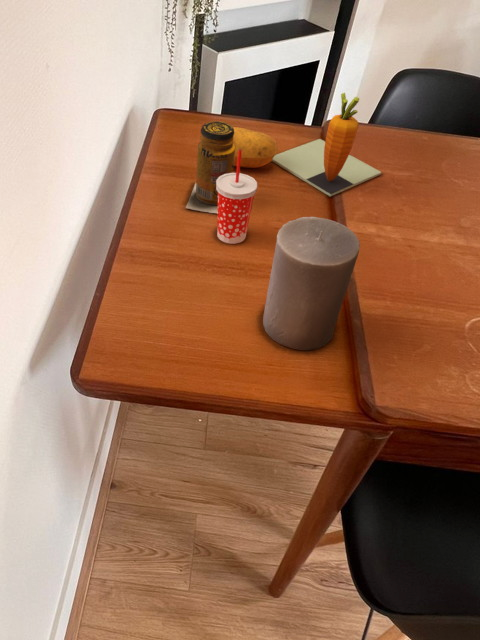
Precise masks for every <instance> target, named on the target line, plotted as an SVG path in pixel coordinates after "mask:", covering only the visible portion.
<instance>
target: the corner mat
mask: <svg viewBox="0 0 480 640" xmlns="http://www.w3.org/2000/svg"><path fill="white" fill-rule="evenodd" d="M325 141H326V140H323V139H322V138H318V139H315V140H312V141H310V142H306V143H304V144H302V145H298V146H296V147H292V148H290V149H287V150H285V151H282V152H280V153H276V154H275V156H274V157H273V159H272V161H271V162H272V163H274V164H275V165H277V166H279V167H280V168H282V169H284V170H286V171H287V172H288V173H290V174H292V175H293V176H295V177H297V178H299V180H301V181H303V182H305V183H307V184H308V185H310V186H311V187H313V188H315V189H316V190H318V191H320V192H321V193H322V194H324V195H326V196H328V197H333V196H335V195H338V194H340V193H342V192H344V191H346V190H349V189H351V188H353V187H355V186H357V185H360V184H362V183H364V182H367V181H369V180H372V179H373V178H376V177H378V176H381V175H382V171H380V170H378V169H376V168H375V167H373V166H371V165H370V164H367V163H366V162H364V161H362V160H360V159H358V158H357V157H354V156H353V155H350V154H349V156H348V158H347V160H346V162H345V164H344V166H343V168H342V169H341V171H340V172H339V174H338V175H337V176H336V178H335V179H334V180H333V181H331V182H329V181H328V180H327V177H326V174H325V169H324V147H325Z"/></svg>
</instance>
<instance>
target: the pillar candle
mask: <svg viewBox="0 0 480 640" xmlns="http://www.w3.org/2000/svg"><path fill="white" fill-rule="evenodd" d="M360 246H361V243H360V239H359V238H358V236H357V235H356V233H355V232H354V231H353V230H352V229H350V228H349V227H347V226H346V225H344V224H342V223H340V222H337V221H335V220H331V219H328V218H324V217H316V216H303V217H297V218H296V219H294V220H289V221H288V222H286V223H284V224H283V225H282V226H281V227H280V228H279V229H278V232H277V235H276V242H275V247H274V254H273V257H272V265H271V270H270V276H269V281H268V286H267V292H266V300H265V305H264V312H263V316H262V324H263V325H262V326H263V328H264V330H265V332H266V334H267V335H268V336H269V338H271V339H272V340H273V341H274V342H275V343H277V344H279V345H281V346H283V347H286V348H290V349H294V350H298V351H312V350H317V349H320V348H322V347H323V346H325V345H326V344H328V343H329V342H330V341H331V340H332V338H333V337H334V331H335V328H336V324H337V323H338V320H339V316H340V312H341V309H342V305H343V302H344V300H345V297H346V294H347V291H348V287H349V285H350V281H351V278H352V275H353V272H354V269H355V267H356V263H357V259H358V256H359V253H360V248H361V247H360Z"/></svg>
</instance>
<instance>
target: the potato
mask: <svg viewBox="0 0 480 640" xmlns="http://www.w3.org/2000/svg"><path fill="white" fill-rule="evenodd" d="M232 127H233V128H234V142H233V144H234V146H235V155H234V163H233V167H236V168H237V160H238V150H239V149H241V150H242V153H241V163H240V168H245V169H246V168H248V169H257V168H261V167H263V166H265V165H267V164H270V163H271V162H272V159H273V157H274V156H275V155H277V152H278V142H276V140H275V138H273V137H271V136H270V135H268V134H267V133H264V132H260V131H255V130H252V129H248V128H244V127H238V126H237V127H236V126H235V127H234V126H232Z"/></svg>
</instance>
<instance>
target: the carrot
mask: <svg viewBox="0 0 480 640" xmlns="http://www.w3.org/2000/svg"><path fill="white" fill-rule="evenodd" d="M340 98H341V109H340V110H341V111H340V112H341V113H340V114H336V115H334V116H332V118H331V119H330V121H329V123H328V127H327V132H326V137H325V140H324V141H325V147H324V169H325V174H326V177H327V180H328V181H329V182H331V181H333V180H334V179H335V178H336V176H337V175H338V174H339V172H340V171H341V169H342V168H343V166H344V164H345V162H346V160H347V158H348V156H349V155H350V153H351V152H352V148H353V145H354V142H355V139H356V137H357V132H358V130H359V121H358V120H357V119H356V118H355V117H354V115H357V114H358V113H359V111H358V110H357V109H354V108H355V107H356V106H357V105H358V103H359V102H360V98H359V97H358V96H354V97H353V99H352V100H351V101H350V103H348V102H349V101H348V99H347V96H346V92H342V93H341V94H340ZM347 105H348V106H347Z"/></svg>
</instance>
